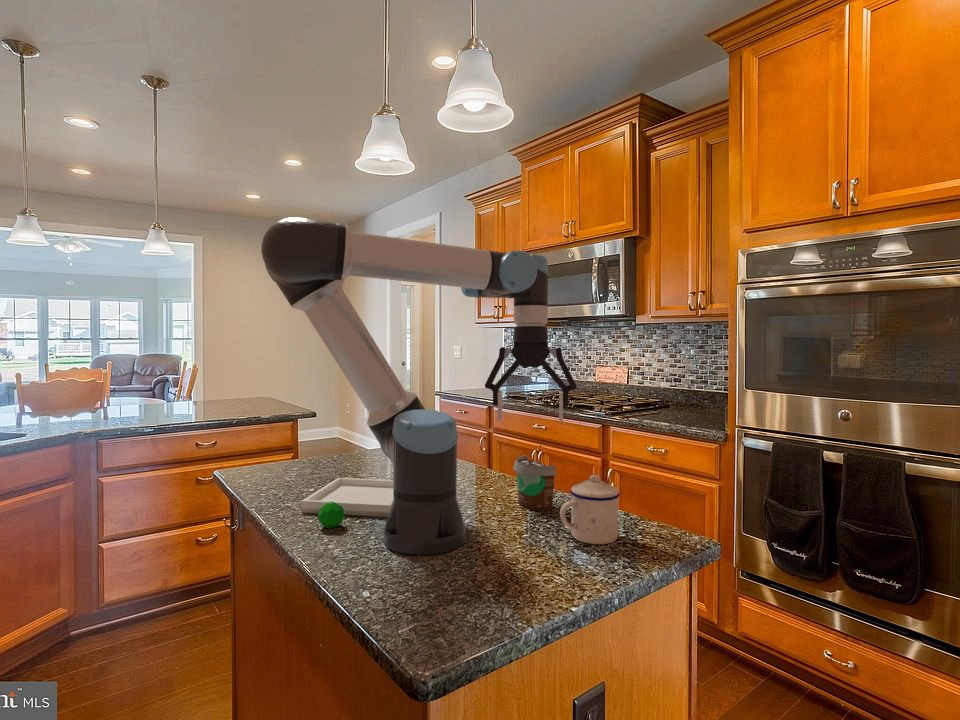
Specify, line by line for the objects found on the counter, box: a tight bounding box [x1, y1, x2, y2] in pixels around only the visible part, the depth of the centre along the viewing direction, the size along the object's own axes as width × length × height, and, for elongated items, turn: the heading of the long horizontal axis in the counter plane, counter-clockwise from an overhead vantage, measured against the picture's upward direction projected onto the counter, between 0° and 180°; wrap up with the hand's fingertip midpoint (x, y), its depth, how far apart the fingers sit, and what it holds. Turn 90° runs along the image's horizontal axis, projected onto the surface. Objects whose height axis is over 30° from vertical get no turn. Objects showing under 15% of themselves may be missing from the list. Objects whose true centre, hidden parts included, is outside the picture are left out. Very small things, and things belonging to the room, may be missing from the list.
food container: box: [512, 455, 557, 511], centre depth 121 cm, size 12×6×10 cm, turn 27°
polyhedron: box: [317, 502, 345, 529], centre depth 106 cm, size 5×5×5 cm
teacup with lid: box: [559, 474, 620, 545], centre depth 101 cm, size 12×9×12 cm
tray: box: [301, 477, 393, 518], centre depth 123 cm, size 20×20×2 cm
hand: (530, 420), depth 120 cm, fingers open, 13 cm apart
